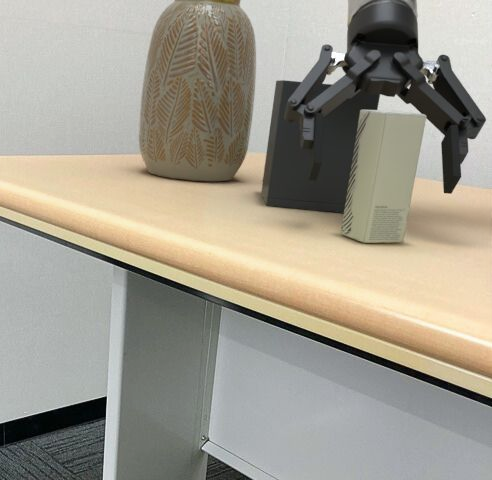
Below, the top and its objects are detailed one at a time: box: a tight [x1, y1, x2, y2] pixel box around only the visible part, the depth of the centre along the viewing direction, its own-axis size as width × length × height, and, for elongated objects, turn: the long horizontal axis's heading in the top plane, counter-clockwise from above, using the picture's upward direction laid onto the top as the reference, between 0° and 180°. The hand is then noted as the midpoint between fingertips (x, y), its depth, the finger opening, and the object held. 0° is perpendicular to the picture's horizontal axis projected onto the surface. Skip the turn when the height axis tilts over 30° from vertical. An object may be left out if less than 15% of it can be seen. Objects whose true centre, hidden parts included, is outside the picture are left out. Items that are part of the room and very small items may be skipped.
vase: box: [138, 0, 257, 183], centre depth 114 cm, size 17×17×27 cm
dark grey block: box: [260, 79, 381, 214], centre depth 98 cm, size 12×12×15 cm
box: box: [340, 109, 427, 244], centre depth 76 cm, size 5×4×13 cm
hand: (383, 178), depth 75 cm, fingers open, 13 cm apart
